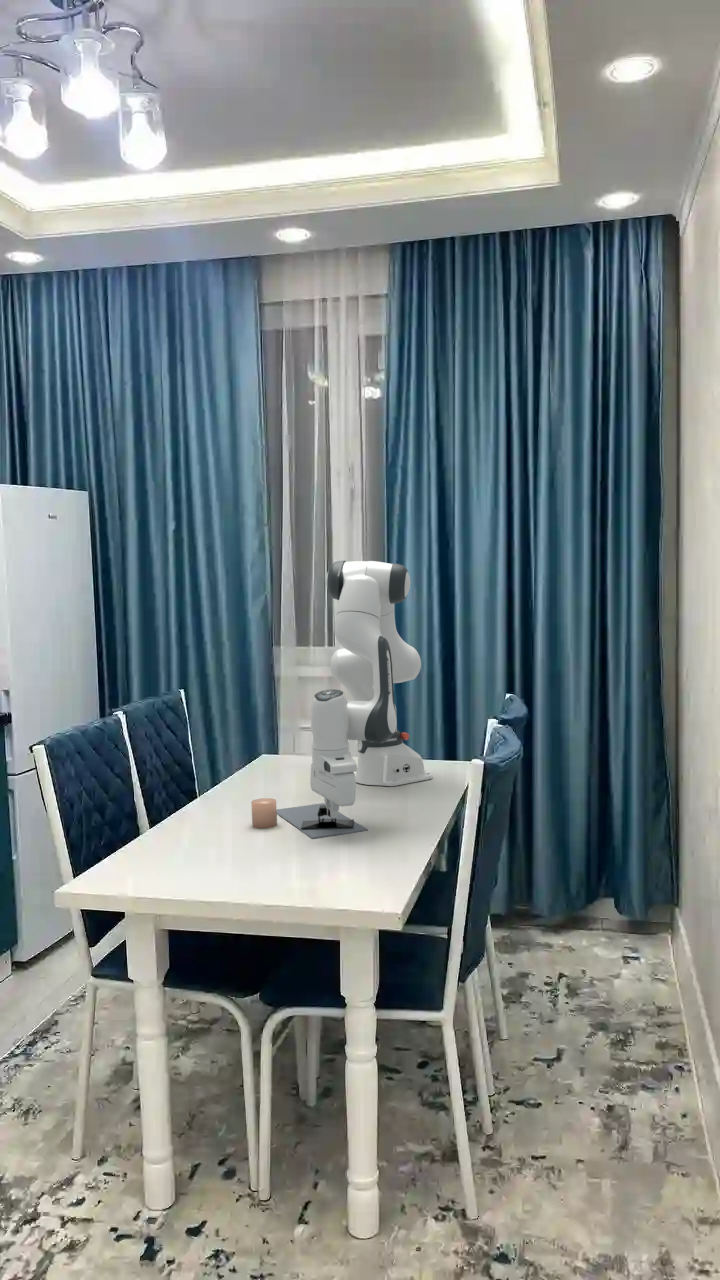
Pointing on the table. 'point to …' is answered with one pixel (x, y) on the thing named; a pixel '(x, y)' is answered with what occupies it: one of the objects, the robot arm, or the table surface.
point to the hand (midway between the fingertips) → (332, 817)
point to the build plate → (326, 822)
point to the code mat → (310, 813)
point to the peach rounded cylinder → (264, 813)
